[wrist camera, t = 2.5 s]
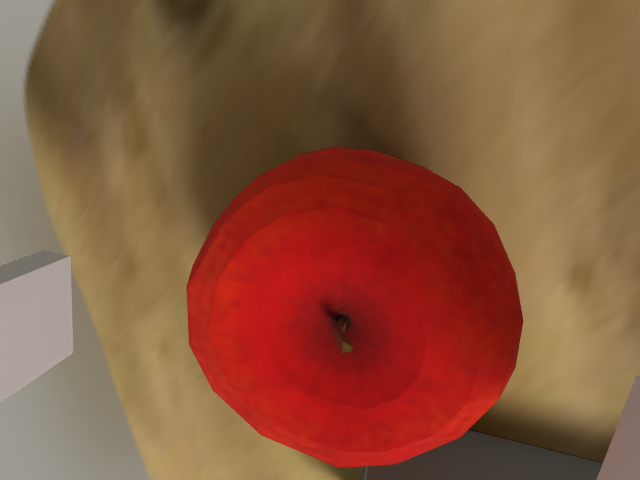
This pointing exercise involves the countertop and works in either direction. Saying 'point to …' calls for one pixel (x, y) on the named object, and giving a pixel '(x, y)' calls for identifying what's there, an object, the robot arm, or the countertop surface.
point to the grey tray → (487, 462)
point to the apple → (355, 308)
